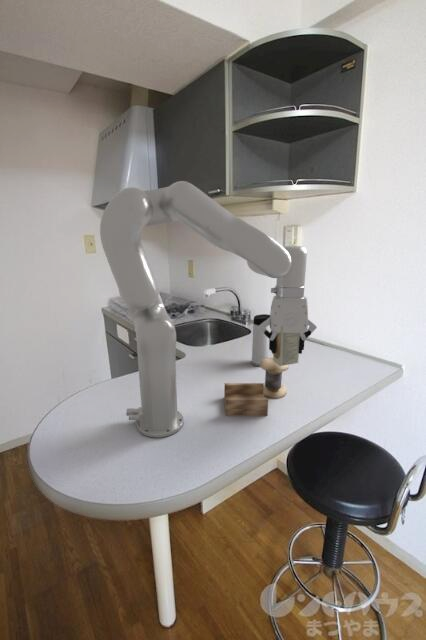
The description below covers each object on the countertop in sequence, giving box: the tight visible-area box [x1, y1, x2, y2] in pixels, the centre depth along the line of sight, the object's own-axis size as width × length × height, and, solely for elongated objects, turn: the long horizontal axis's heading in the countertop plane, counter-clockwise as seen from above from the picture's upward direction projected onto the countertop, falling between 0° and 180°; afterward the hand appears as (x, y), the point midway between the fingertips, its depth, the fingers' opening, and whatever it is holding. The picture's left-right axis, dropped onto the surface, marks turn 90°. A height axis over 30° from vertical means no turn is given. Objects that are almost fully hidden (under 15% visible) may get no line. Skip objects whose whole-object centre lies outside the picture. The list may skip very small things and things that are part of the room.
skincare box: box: [272, 326, 300, 366], centre depth 91 cm, size 6×4×12 cm
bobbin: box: [260, 357, 290, 399], centre depth 103 cm, size 9×9×10 cm
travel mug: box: [251, 313, 271, 368], centre depth 122 cm, size 6×7×20 cm
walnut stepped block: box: [224, 382, 269, 417], centre depth 95 cm, size 12×10×5 cm
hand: (286, 351), depth 92 cm, fingers closed on skincare box, 7 cm apart
